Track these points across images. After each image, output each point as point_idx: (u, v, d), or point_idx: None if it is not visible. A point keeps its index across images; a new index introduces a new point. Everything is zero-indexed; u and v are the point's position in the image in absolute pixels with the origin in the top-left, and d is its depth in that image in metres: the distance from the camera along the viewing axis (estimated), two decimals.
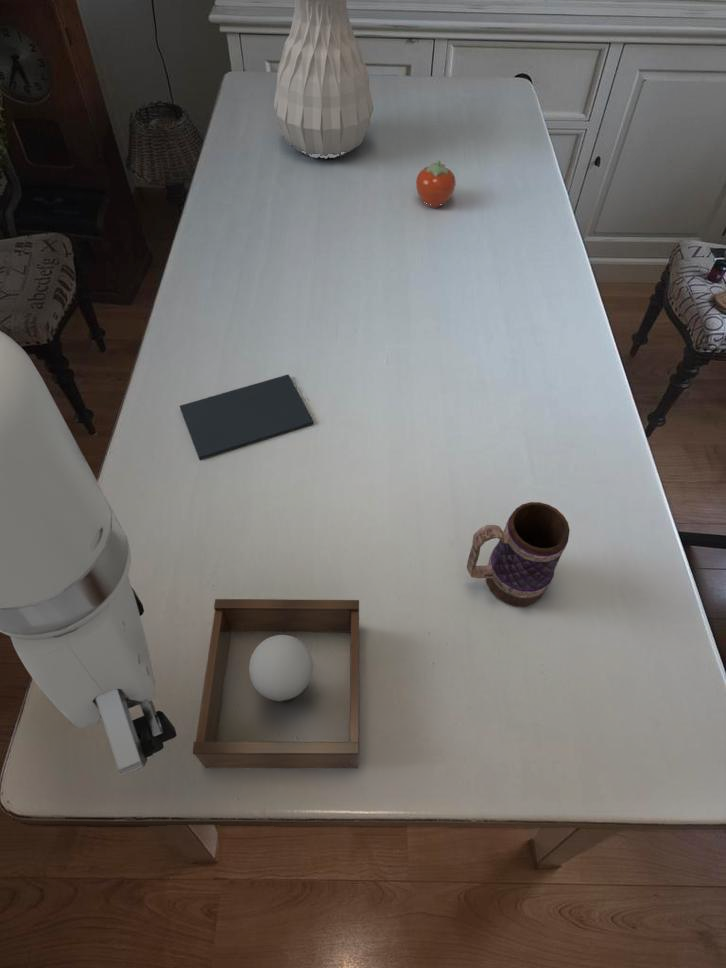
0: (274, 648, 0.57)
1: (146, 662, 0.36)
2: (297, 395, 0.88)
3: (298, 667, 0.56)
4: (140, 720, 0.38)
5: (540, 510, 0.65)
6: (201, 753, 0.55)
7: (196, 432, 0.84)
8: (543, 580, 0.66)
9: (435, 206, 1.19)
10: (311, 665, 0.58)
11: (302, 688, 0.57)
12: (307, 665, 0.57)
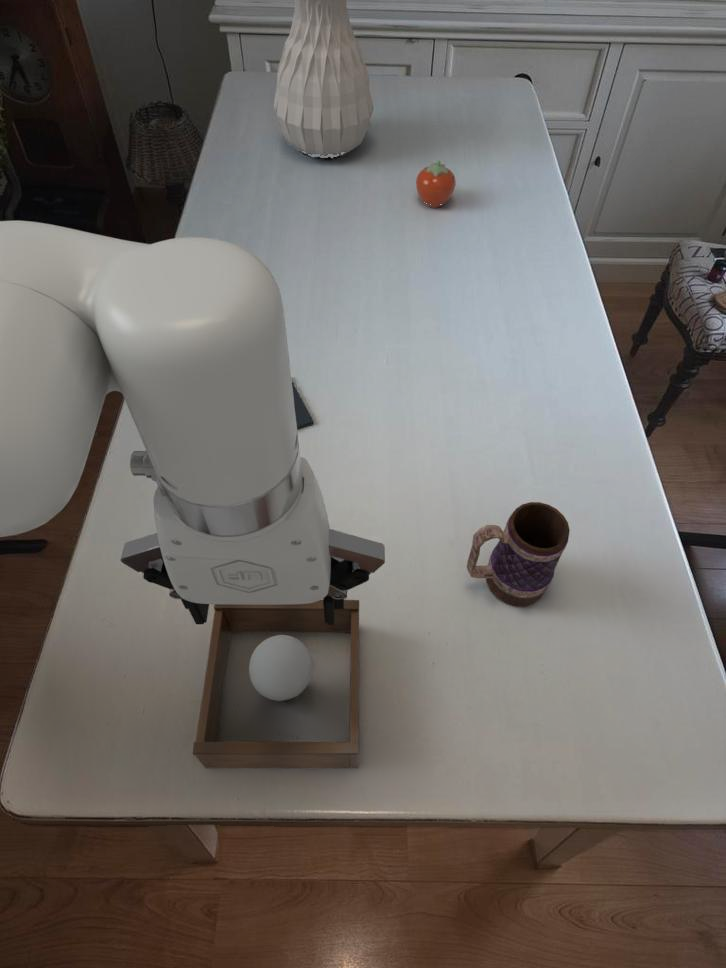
0: (274, 649, 0.57)
1: None
2: (297, 395, 0.88)
3: (298, 667, 0.56)
4: (331, 571, 0.44)
5: (540, 510, 0.65)
6: (201, 753, 0.55)
7: None
8: (543, 580, 0.66)
9: (435, 206, 1.19)
10: (311, 665, 0.58)
11: (302, 688, 0.57)
12: (307, 665, 0.57)
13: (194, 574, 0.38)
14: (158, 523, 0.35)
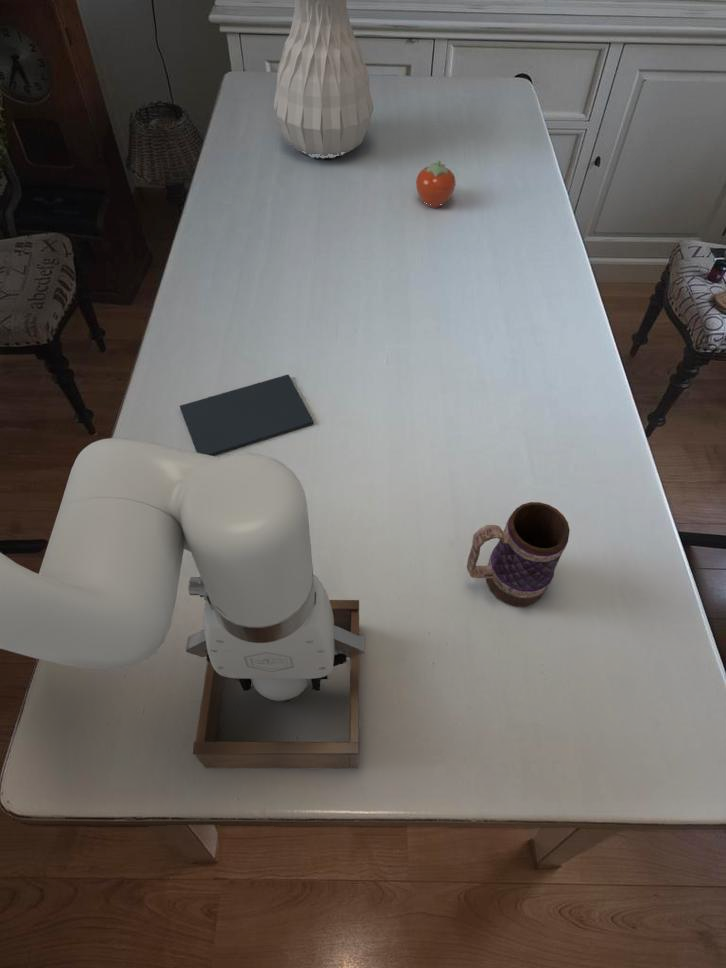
0: None
1: None
2: (297, 395, 0.88)
3: None
4: None
5: (540, 510, 0.65)
6: (201, 753, 0.55)
7: (196, 432, 0.84)
8: (543, 580, 0.66)
9: (435, 206, 1.19)
10: None
11: (302, 688, 0.57)
12: None
13: (230, 660, 0.50)
14: (207, 628, 0.46)
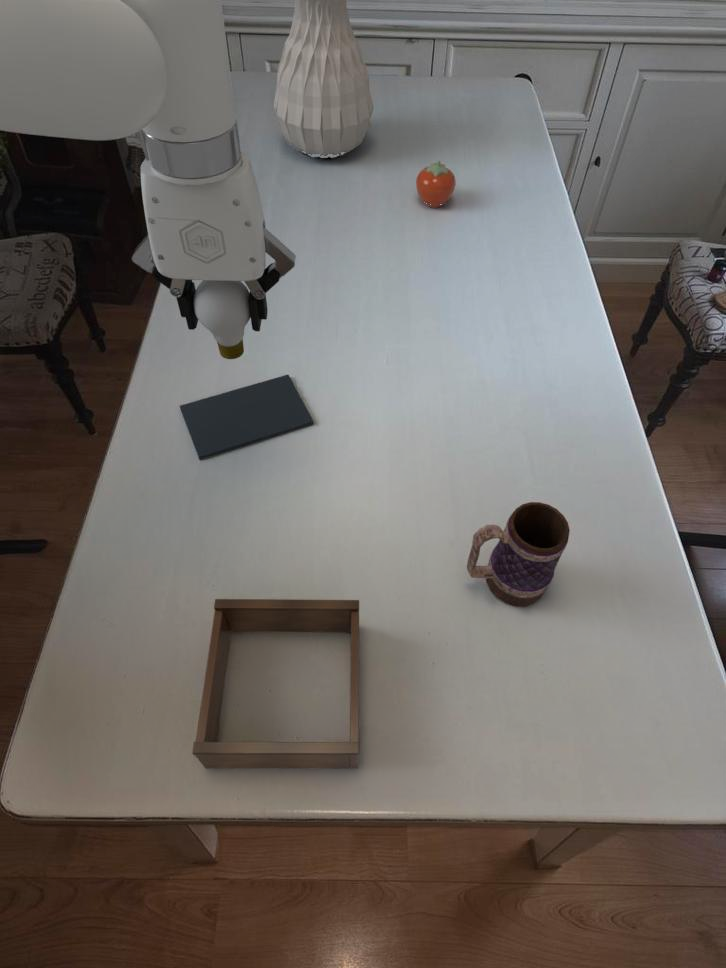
0: None
1: None
2: (297, 395, 0.88)
3: (236, 291, 0.62)
4: None
5: (540, 510, 0.65)
6: (201, 753, 0.55)
7: (196, 432, 0.84)
8: (543, 580, 0.66)
9: (435, 206, 1.19)
10: None
11: (241, 316, 0.63)
12: (246, 295, 0.63)
13: (168, 239, 0.55)
14: (143, 182, 0.52)
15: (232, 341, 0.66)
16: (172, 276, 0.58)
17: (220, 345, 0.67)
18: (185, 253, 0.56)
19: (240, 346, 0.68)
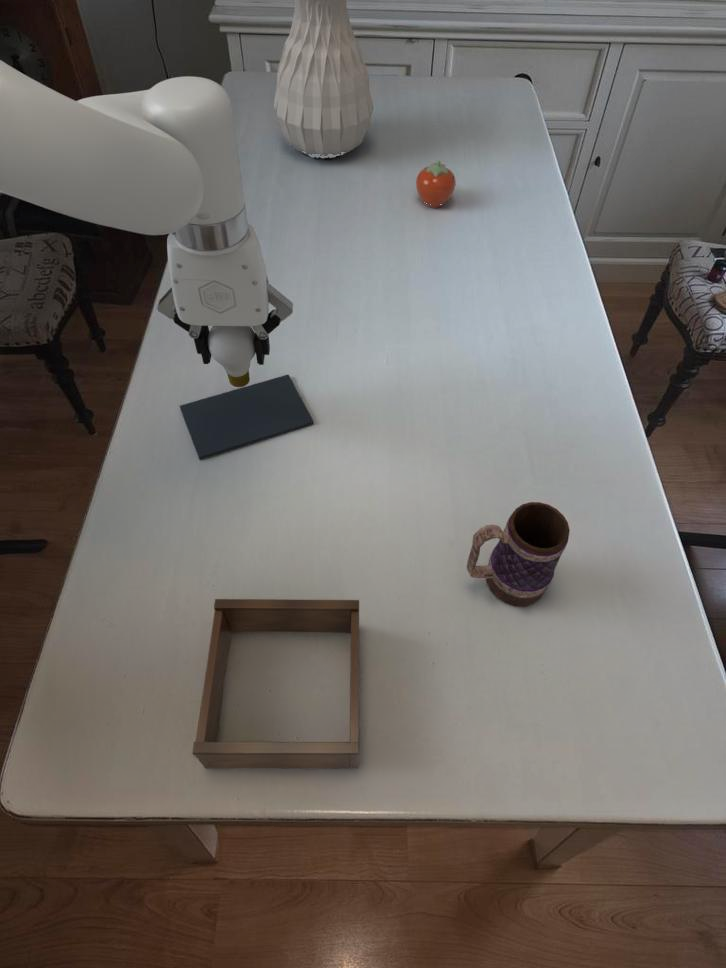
0: None
1: None
2: (297, 395, 0.88)
3: (244, 333, 0.74)
4: None
5: (540, 510, 0.65)
6: (201, 753, 0.55)
7: (196, 432, 0.84)
8: (543, 580, 0.66)
9: (435, 206, 1.19)
10: None
11: (248, 353, 0.75)
12: (252, 335, 0.75)
13: (189, 295, 0.67)
14: (169, 252, 0.64)
15: (240, 373, 0.78)
16: (191, 323, 0.70)
17: (230, 376, 0.79)
18: (202, 305, 0.68)
19: (247, 376, 0.80)
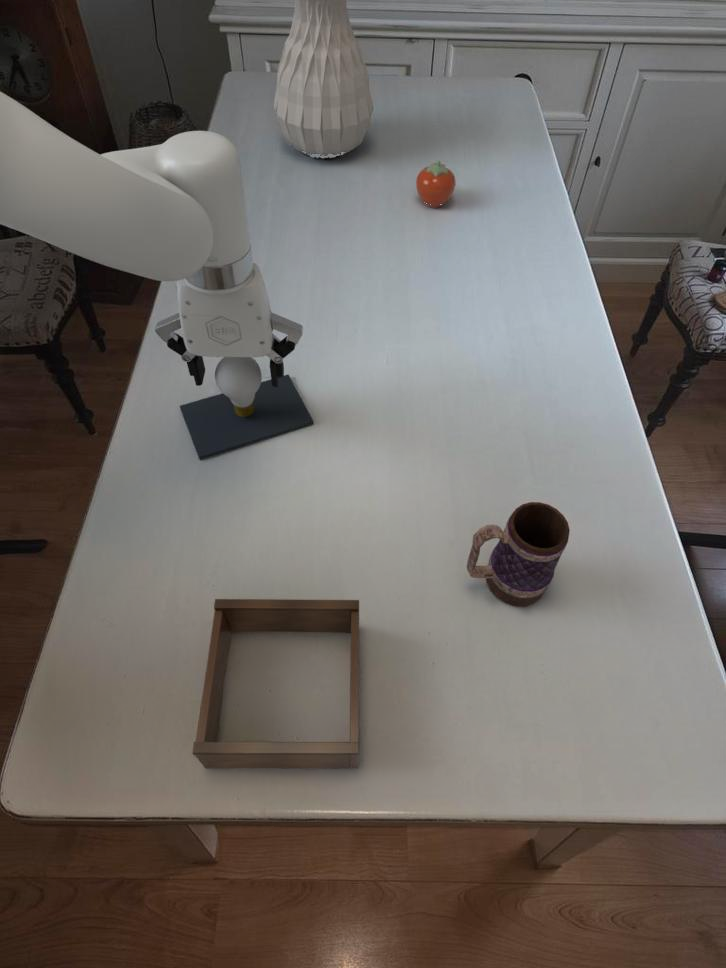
0: None
1: None
2: (297, 395, 0.88)
3: (249, 367, 0.78)
4: (274, 348, 0.77)
5: (540, 510, 0.65)
6: (201, 753, 0.55)
7: (196, 432, 0.84)
8: (543, 580, 0.66)
9: (435, 206, 1.19)
10: (260, 373, 0.80)
11: (253, 386, 0.79)
12: (257, 369, 0.79)
13: (196, 329, 0.71)
14: (179, 290, 0.67)
15: (245, 404, 0.82)
16: (198, 354, 0.74)
17: (235, 406, 0.83)
18: (209, 338, 0.72)
19: (251, 406, 0.84)
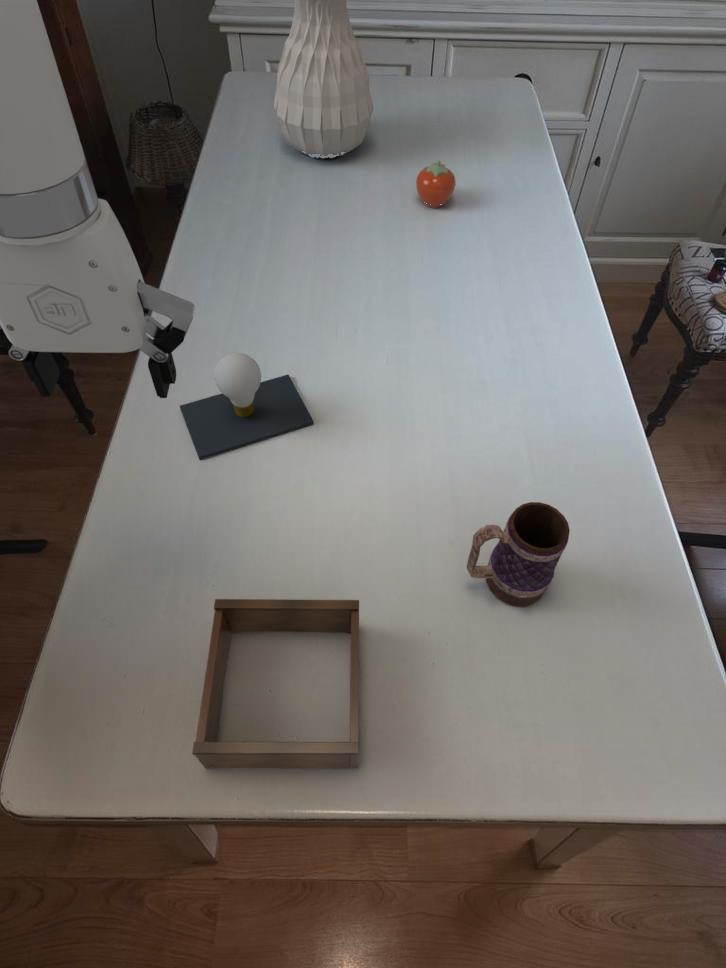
0: (232, 355, 0.79)
1: None
2: (297, 395, 0.88)
3: (249, 367, 0.78)
4: (155, 339, 0.51)
5: (540, 510, 0.65)
6: (201, 753, 0.55)
7: (196, 432, 0.84)
8: (543, 580, 0.66)
9: (435, 206, 1.19)
10: (259, 373, 0.80)
11: (252, 386, 0.79)
12: (256, 369, 0.79)
13: (15, 307, 0.44)
14: None
15: (245, 404, 0.82)
16: (28, 349, 0.47)
17: (235, 406, 0.83)
18: (39, 323, 0.45)
19: (251, 406, 0.84)
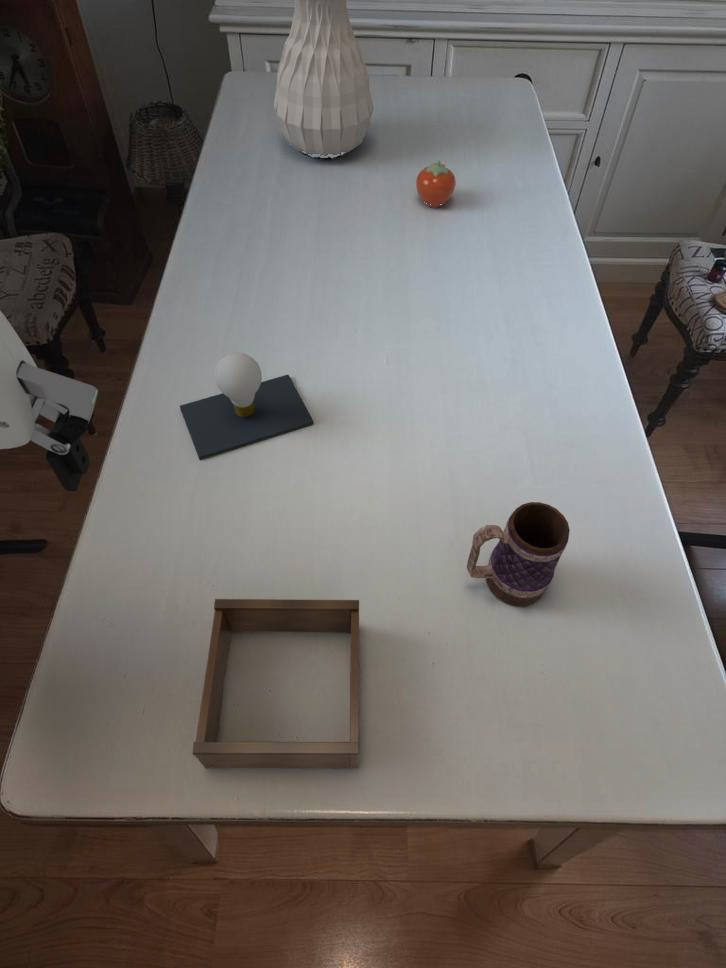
0: (233, 355, 0.79)
1: None
2: (297, 395, 0.88)
3: (249, 367, 0.78)
4: (56, 425, 0.41)
5: (540, 510, 0.65)
6: (201, 753, 0.55)
7: (196, 432, 0.84)
8: (543, 580, 0.66)
9: (435, 206, 1.19)
10: (260, 373, 0.80)
11: (253, 386, 0.79)
12: (257, 369, 0.79)
13: None
14: None
15: (245, 404, 0.82)
16: None
17: (235, 406, 0.83)
18: None
19: (251, 406, 0.84)
